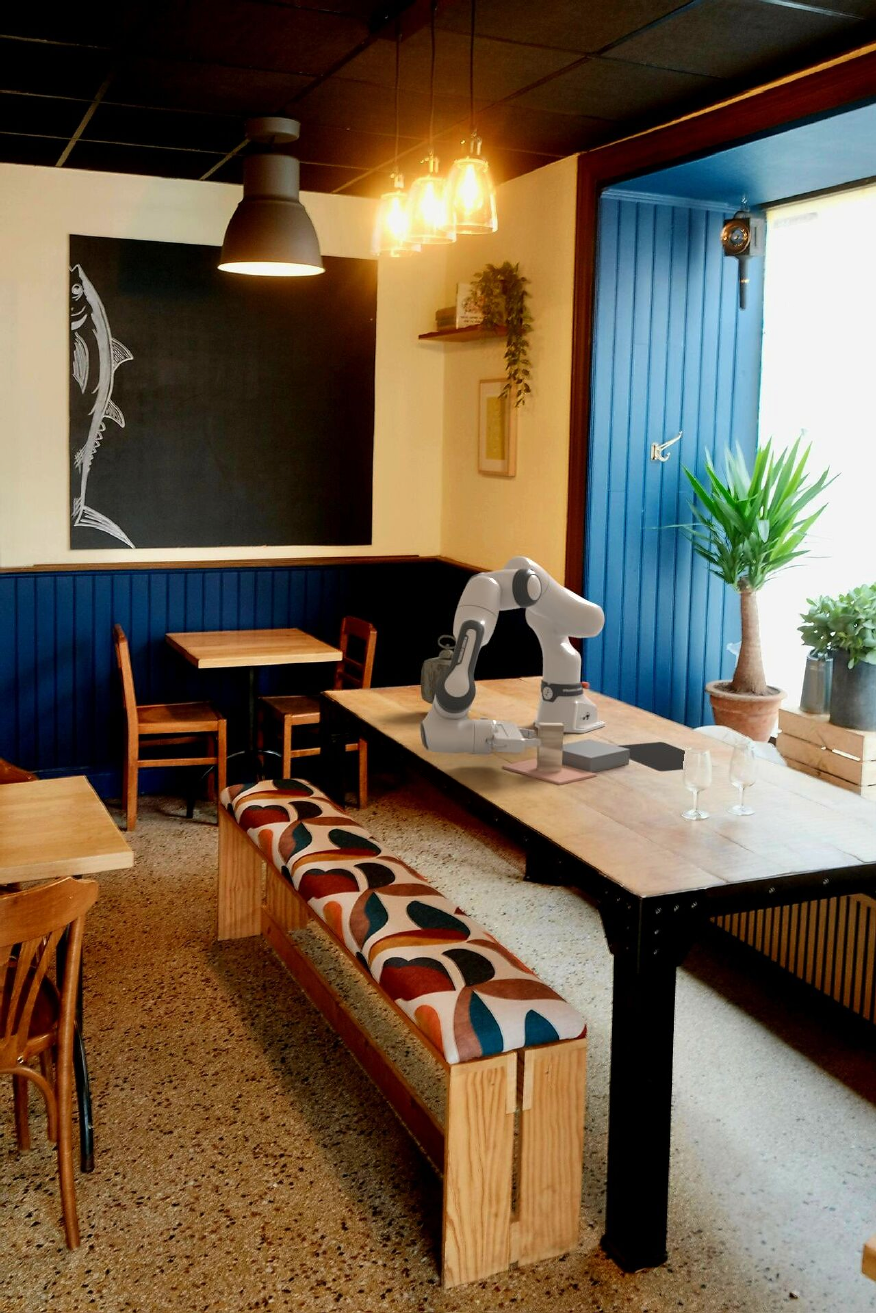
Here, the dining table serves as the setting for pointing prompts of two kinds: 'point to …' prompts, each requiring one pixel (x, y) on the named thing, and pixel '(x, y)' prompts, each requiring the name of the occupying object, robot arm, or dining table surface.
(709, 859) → the dining table surface
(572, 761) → the block
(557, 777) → the terracotta mat
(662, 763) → the tablet
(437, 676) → the tabletop clock
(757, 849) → the dining table surface
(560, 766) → the birch plaque
